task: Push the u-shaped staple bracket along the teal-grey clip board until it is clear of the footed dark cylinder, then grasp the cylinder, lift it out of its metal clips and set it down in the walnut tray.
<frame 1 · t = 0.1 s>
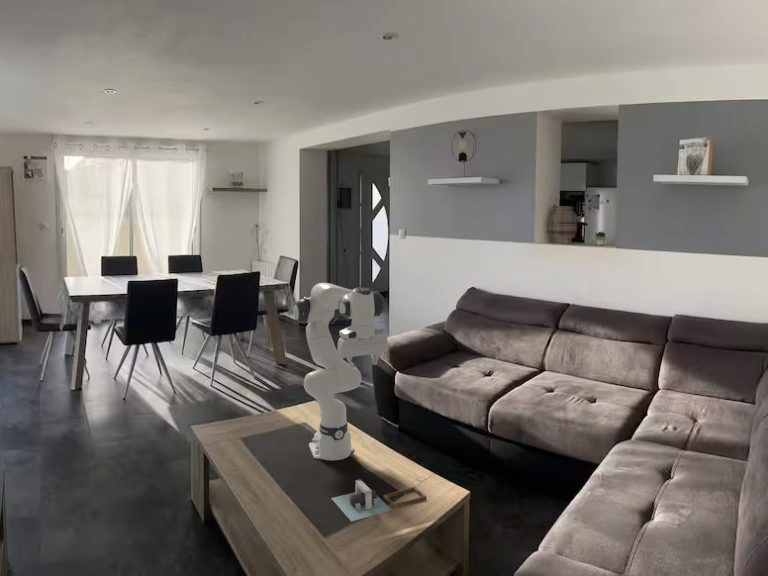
hand: (363, 365, 227), 48 cm above the table, fingers open, 8 cm apart
u-shaped staple bracket: (363, 494, 216), point 5 cm above the table, slide at 0.0 cm
tray: (404, 501, 220), on the table
clip board: (361, 506, 216), on the table
footed dark cylinder: (363, 503, 217), point 1 cm above the table, touching clip board
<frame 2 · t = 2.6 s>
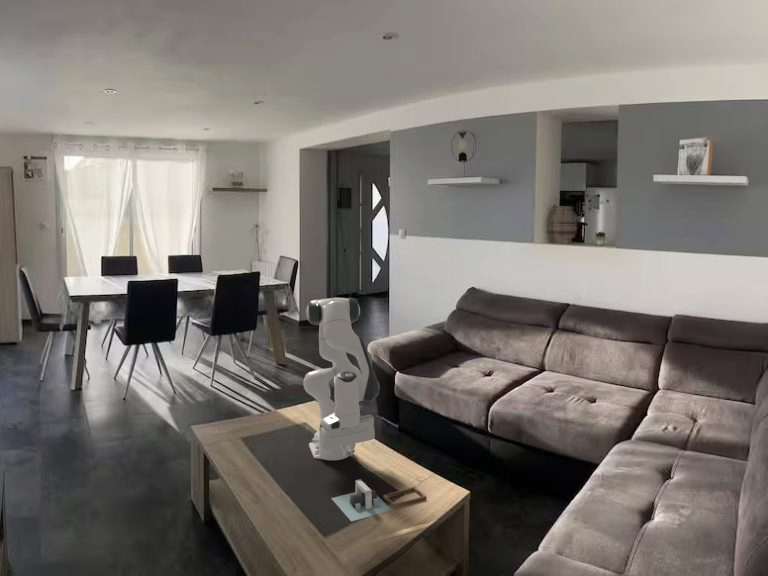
hand: (347, 455, 211), 21 cm above the table, fingers closed
nothing on the table moved.
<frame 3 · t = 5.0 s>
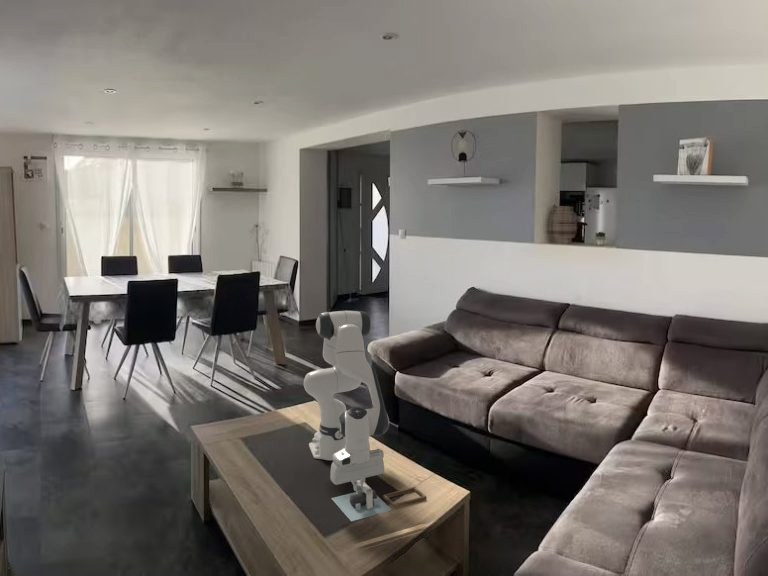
hand: (358, 489, 215), 7 cm above the table, fingers closed
u-shaped staple bracket: (364, 493, 216), point 5 cm above the table, slide at 0.4 cm, touching gripper
everything else where it was.
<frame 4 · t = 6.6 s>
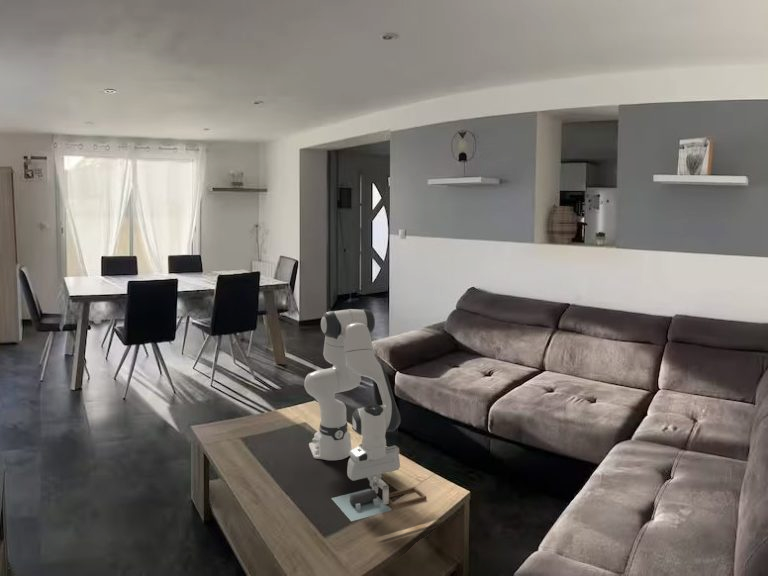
hand: (374, 485, 218), 7 cm above the table, fingers closed
u-shaped staple bracket: (380, 489, 219), point 5 cm above the table, slide at 6.9 cm, touching gripper
everything else where it was.
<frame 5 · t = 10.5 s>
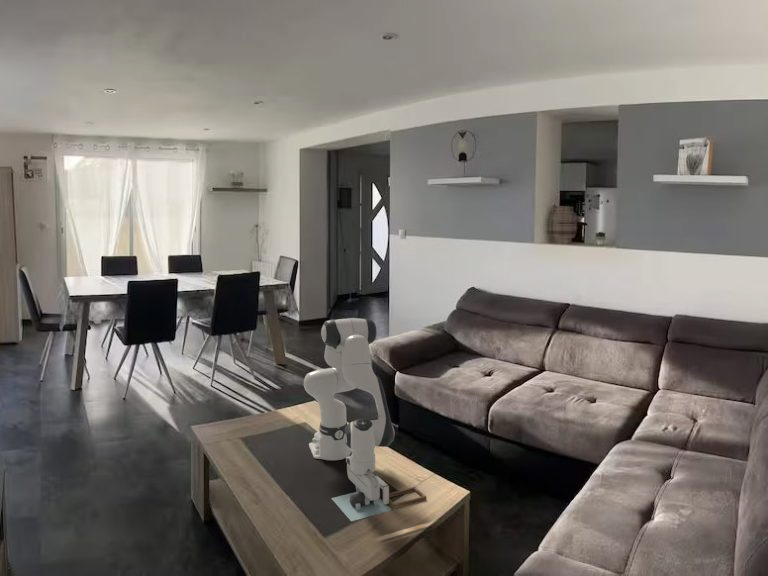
hand: (363, 500, 216), 2 cm above the table, fingers closed on footed dark cylinder, 4 cm apart
u-shaped staple bracket: (380, 489, 219), point 5 cm above the table, slide at 7.0 cm
footed dark cylinder: (363, 503, 217), point 1 cm above the table, touching clip board, gripper
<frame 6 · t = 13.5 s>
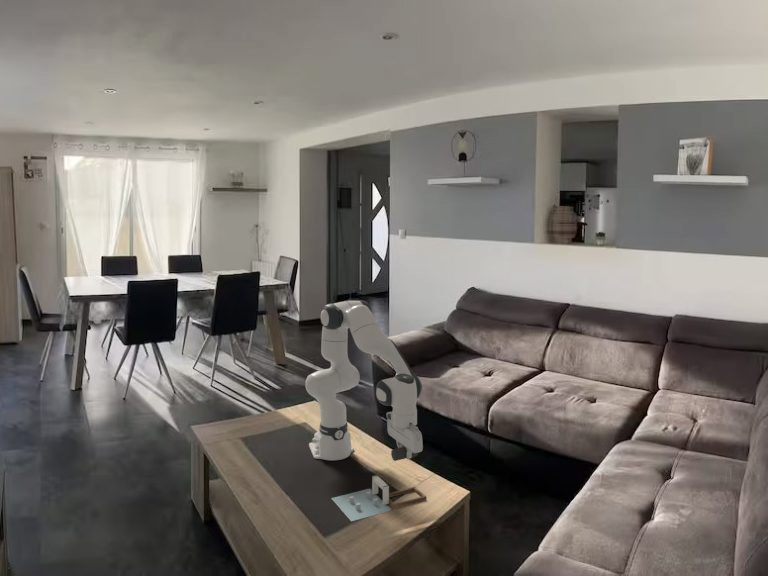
hand: (404, 455, 217), 18 cm above the table, fingers closed on footed dark cylinder, 4 cm apart
footed dark cylinder: (404, 458, 218), point 17 cm above the table, touching gripper
everything else where it was.
when the fingers open (4 cm above the table, at t = 16.7 s): footed dark cylinder drops 2 cm, resting on tray.
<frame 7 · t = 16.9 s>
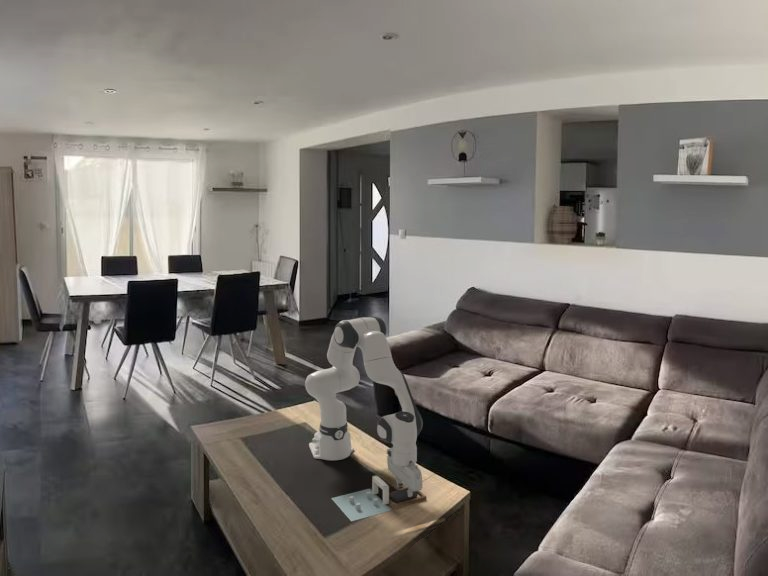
hand: (404, 491, 220), 4 cm above the table, fingers open, 6 cm apart
footed dark cylinder: (404, 499, 220), point 1 cm above the table, touching tray
everything else where it was.
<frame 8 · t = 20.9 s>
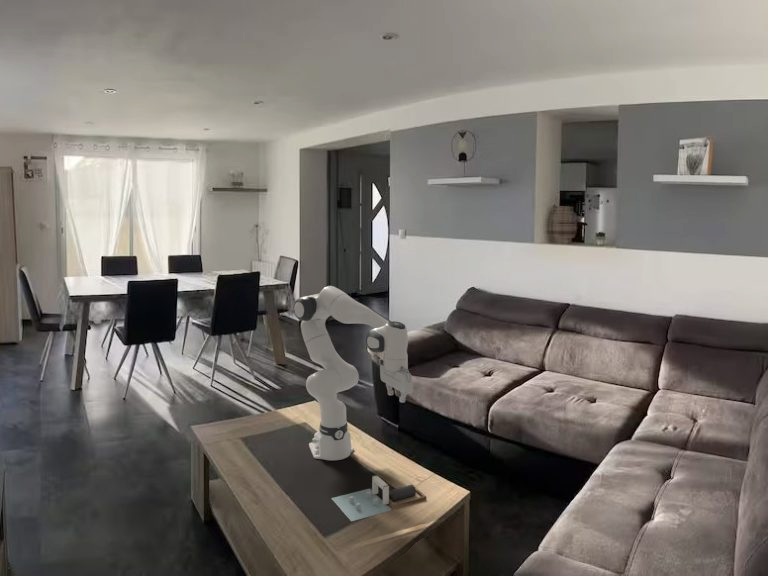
hand: (396, 398, 231), 34 cm above the table, fingers open, 8 cm apart
footed dark cylinder: (404, 498, 220), point 1 cm above the table, tilted 42°, touching tray
everything else where it was.
at the end: footed dark cylinder inside the target area on the tray (0.1 cm from its centre), point 1.1 cm above the tray's base; the gripper is holding nothing; u-shaped staple bracket slide at 7.0 cm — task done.
